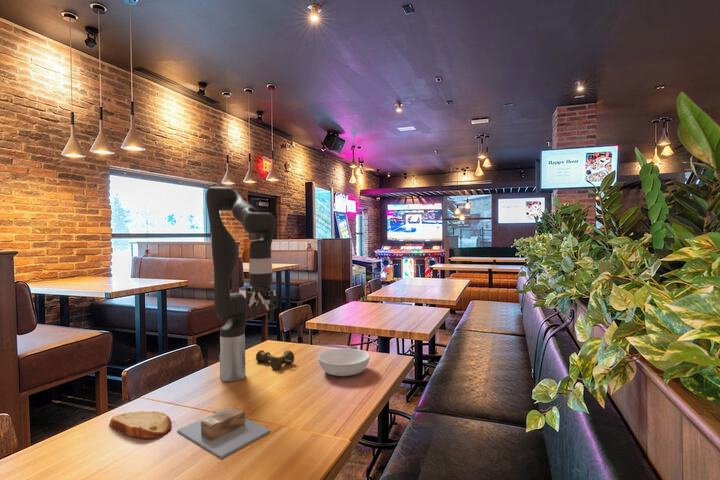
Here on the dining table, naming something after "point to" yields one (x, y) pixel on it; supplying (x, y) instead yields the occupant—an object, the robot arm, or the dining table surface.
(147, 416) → the bread slice
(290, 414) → the dining table surface
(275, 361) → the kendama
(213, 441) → the slate mat
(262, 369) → the dining table surface
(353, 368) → the serving bowl
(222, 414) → the brown rectangular block
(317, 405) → the dining table surface
